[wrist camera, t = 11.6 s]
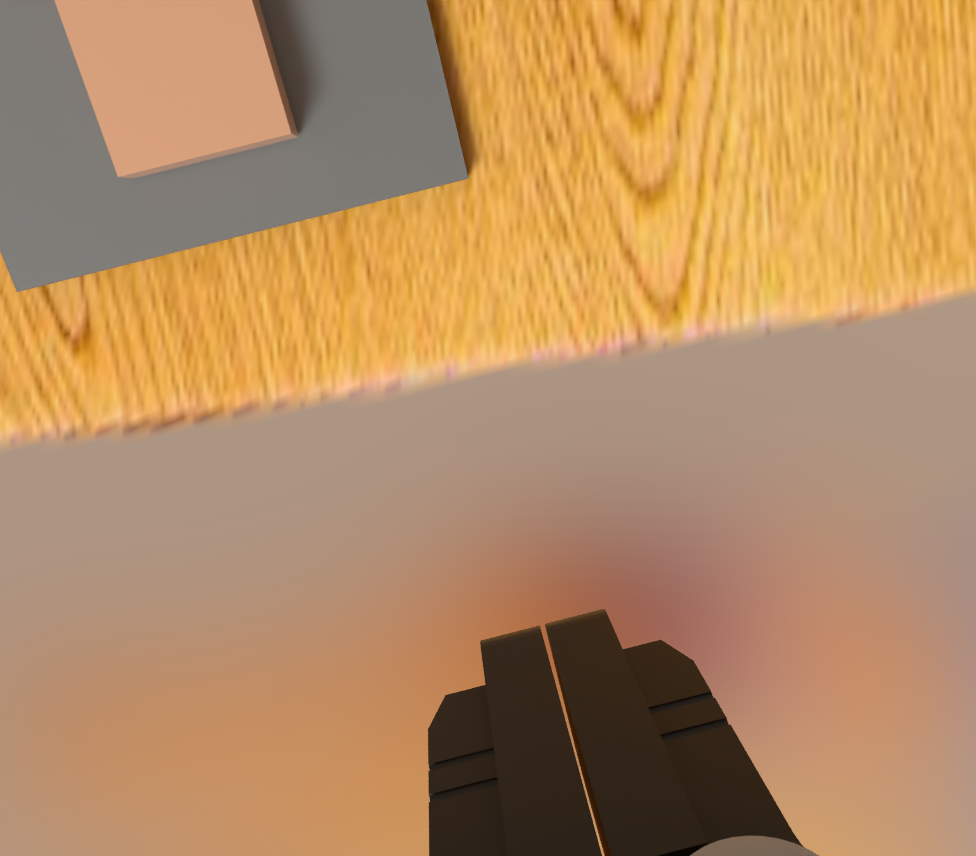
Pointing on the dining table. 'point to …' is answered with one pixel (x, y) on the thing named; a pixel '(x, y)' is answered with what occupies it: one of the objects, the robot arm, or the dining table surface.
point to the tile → (178, 79)
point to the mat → (228, 179)
